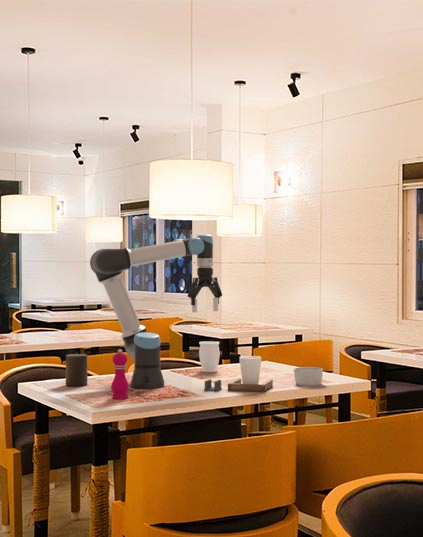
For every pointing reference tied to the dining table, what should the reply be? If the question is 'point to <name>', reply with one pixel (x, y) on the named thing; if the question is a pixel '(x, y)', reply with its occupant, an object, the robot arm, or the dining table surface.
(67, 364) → the pillar candle
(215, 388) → the clip
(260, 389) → the end holder
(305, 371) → the ramekin
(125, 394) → the pepper mill
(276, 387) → the dining table surface
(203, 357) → the jar
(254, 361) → the foam cup
